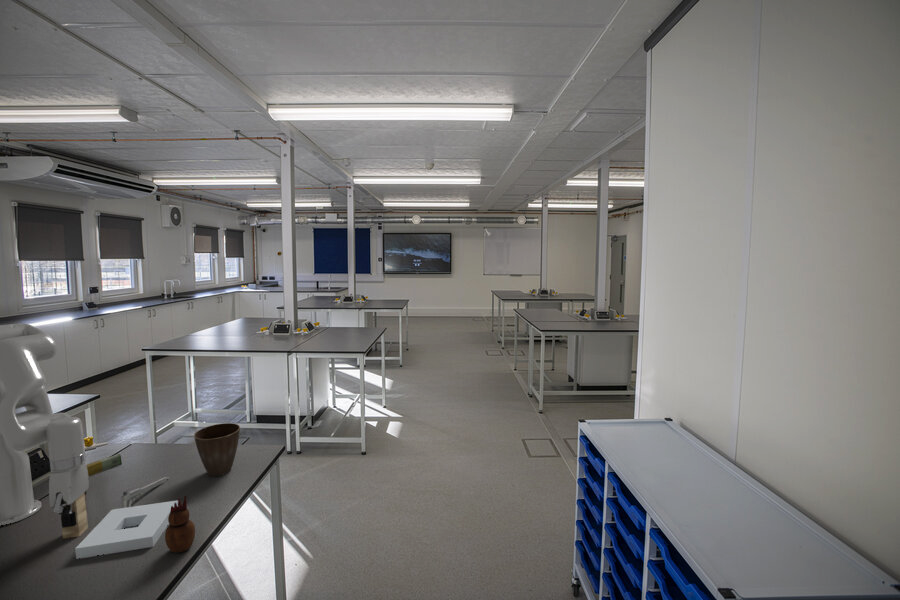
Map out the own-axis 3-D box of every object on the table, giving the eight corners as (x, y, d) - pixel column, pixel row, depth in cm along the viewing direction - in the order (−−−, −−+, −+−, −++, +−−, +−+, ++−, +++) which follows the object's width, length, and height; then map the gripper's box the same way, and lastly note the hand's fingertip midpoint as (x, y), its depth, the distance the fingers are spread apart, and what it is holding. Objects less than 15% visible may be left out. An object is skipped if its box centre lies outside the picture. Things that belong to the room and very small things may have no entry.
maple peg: (63, 538, 118) (58, 499, 117) (72, 529, 122) (67, 491, 121) (79, 536, 119) (75, 496, 118) (88, 527, 123) (84, 489, 122)
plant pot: (237, 458, 166) (235, 419, 164) (246, 472, 154) (244, 431, 153) (194, 470, 157) (191, 429, 155) (200, 486, 145) (197, 443, 144)
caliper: (124, 512, 131) (123, 494, 130) (121, 512, 131) (119, 494, 130) (169, 479, 151) (168, 462, 151) (167, 479, 151) (165, 462, 151)
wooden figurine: (200, 541, 116) (196, 490, 115) (187, 555, 111) (183, 502, 109) (175, 542, 116) (171, 491, 115) (162, 556, 110) (157, 503, 109)
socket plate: (76, 559, 110) (75, 548, 110) (112, 518, 127) (112, 509, 127) (153, 546, 114) (152, 536, 114) (178, 509, 132) (177, 500, 132)
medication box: (119, 463, 164) (118, 453, 164) (122, 464, 163) (121, 454, 162) (80, 476, 154) (79, 466, 154) (83, 478, 152) (82, 468, 152)
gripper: (71, 450, 126) (77, 507, 128) (31, 477, 110) (38, 542, 112) (100, 447, 128) (105, 503, 130) (64, 473, 112) (71, 537, 113)
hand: (74, 520), depth 121 cm, fingers closed on maple peg, 4 cm apart
